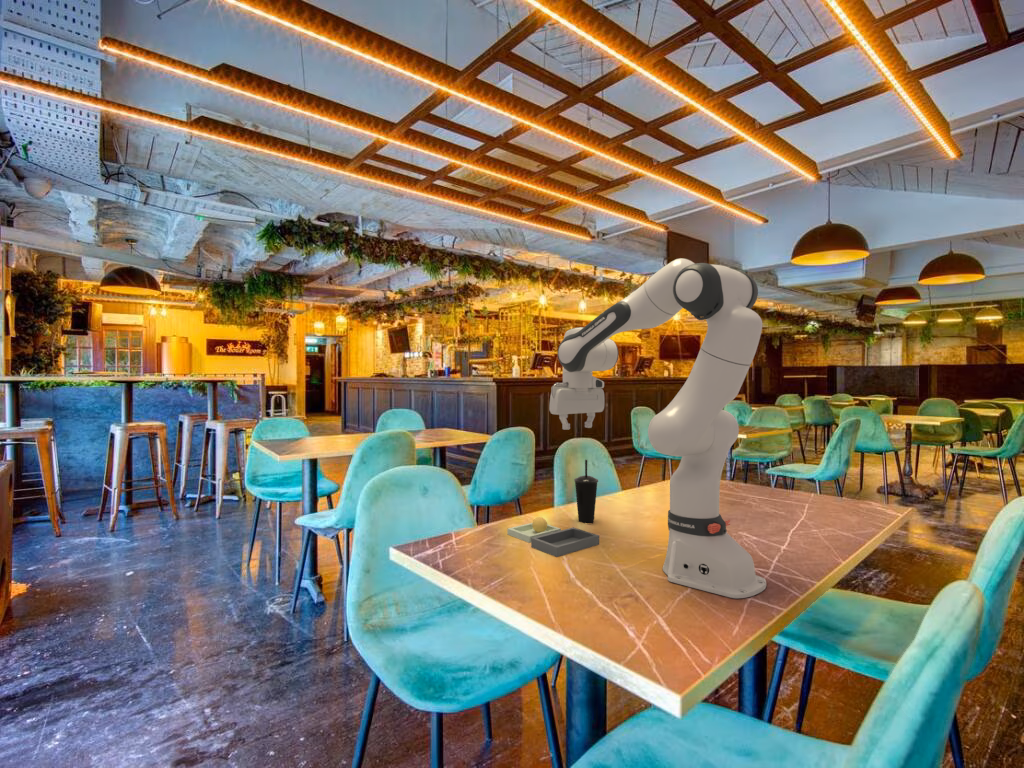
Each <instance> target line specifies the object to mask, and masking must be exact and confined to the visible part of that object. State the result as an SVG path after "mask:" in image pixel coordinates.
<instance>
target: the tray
mask: <svg viewBox="0 0 1024 768" xmlns="http://www.w3.org/2000/svg"><path fill="white" fill-rule="evenodd" d="M532 523H533V522H530V523H524V524H521V525H516V526H512V527H508V528H507V530H506V531H507V535H508V536H511V537H513V538H516V539H519V540H521V541H523V542H526V543H529V544H531V538H534V537H538V536H541V535H545V534H549V533H553V532H557V531H561V530H562V529H561V528H560V527H557V526H554V525H550V524H548V523H547V529H546V530H545V531H544V532H540V533H538V532H536V531H535V530H534V529H533V526H532Z"/></svg>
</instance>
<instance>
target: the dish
mask: <svg viewBox="0 0 1024 768" xmlns="http://www.w3.org/2000/svg"><path fill="white" fill-rule="evenodd" d="M598 545H599V546H600V535H599V534H596V533H592V532H589V531H586V530H582V529H579V528H576V527H573V526H572V527H569V528H565V529H561V531H557V532H553V533H549V534H545V535H541V536H538V537H534V538H531V543H530V547H531V548H532V549H535V550H538V551H540V552H543V553H544V554H545V553H546V554H547V555H551V556H553V557H556V558H559V557H561V556H565V555H568V554H571V553H572V554H573V553H575V552H578V551H582V550H586V549H589V548H591V547H595V546H598Z"/></svg>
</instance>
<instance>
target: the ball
mask: <svg viewBox="0 0 1024 768" xmlns="http://www.w3.org/2000/svg"><path fill="white" fill-rule="evenodd" d="M531 523H532V526H533V529H534V530H535V531H536V532H538V533H540V532H544V531H545V530H546V529H547V524H548V522H547V520H546V519H545V518H544V517H542V516H538V517H536V518H535V519H534V520H533V521H532V522H531Z"/></svg>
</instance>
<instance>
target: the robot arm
mask: <svg viewBox="0 0 1024 768" xmlns="http://www.w3.org/2000/svg"><path fill="white" fill-rule="evenodd" d="M758 297H759V289H758V285H757V282H756V281H755V279H754V278H753V277H752V276H751V275H749V274H748V273H746V272H744V271H743V270H738V269H737V270H736V269H734V268H730V267H728V266H726V265H721V264H713V263H712V264H711V263H707V262H699V263H698V262H697V263H695V262H693V261H692V260H690V259H688V258H681V257H680V258H676V259H674V260H672V261H670V262H669V263H667V264H665V265H664V266H662V268H660V269H659V270H657V271H656V272H655V273H654V274H652V275H651V276H650V277H649V278H648V279H647V280H646V281H645V282H644V283H642V284H641V286H639V287H638V288H636V290H634V291H633V292H632V293H631V294H628V295H627V296H626V297H625V298H622V299H621V300H619V301H617V302H616V303H615V304H613V305H611V306H610V307H608V308H607V309H606V310H604V311H603V312H601V313H600V314H599V315H598V316H596V317H595V318H594V319H592V320H591V321H589V322H588V324H586V325H584V326H578V327H574V328H573V327H572V328H570V329H568V330H567V331H565V333H564V336H563V339H562V341H561V342H560V344H559V346H558V348H557V359H558V361H559V363H560V365H561V366H562V368H563V369H562V382H555V383H554V384H553V385H552V386H551V389H550V390H551V392H550V398H549V406H548V407H549V408H548V409H549V412H550V414H552V415H557V416H559V417H558V418H559V420H560V422H561V424H562V428H561V429H562V430H570V429H571V423H569V422H568V420H567V419H568V417H569V415H573V414H576V415H578V414H586V416H587V419H586V421H584V428H587V429H592V427H593V422H594V419H595V417H596V413H602V412H603V411H604V410H605V392H604V390H603V389H604V387H605V381H603V380H601V379H599V378H597V377H596V376H593V372H604V371H608V370H611V369H613V368H614V367H615V366H616V364H617V363H618V360H619V348H618V345H617V344H616V342H615V341H614V340H613V339H610V338H612V336H615V335H617V334H619V333H623V332H627V331H635V330H645V329H654V328H656V327H659V326H660V325H663V324H665V323H666V322H668V321H669V320H671V319H672V318H674V316H676V314H678V312H680V311H681V310H682V309H684V310H686V312H687V311H688V312H689V313H690V314H691V315H692V316H693V317H694V318H695V319H696V320H698V321H704V320H705V321H706V324H707V330H706V334H705V337H704V339H703V341H702V343H701V346H700V349H699V351H698V354H697V357H696V358H695V359H696V360H695V361H694V364H693V366H692V368H691V371H690V373H689V374H688V377H687V378H686V381H685V382H684V384H683V386H681V388H680V390H679V391H678V392H677V394H675V396H674V398H673V399H672V400H671V401H670V402H669V404H667V406H666V407H664V408H663V409H662V410H661V411H660V412H659V413H657V414H655V415H654V416H653V417H652V418H651V420H650V421H649V425H648V428H647V437H648V440H649V443H650V444H651V445H650V446H651V447H652V448H653V449H654V450H655V451H657V453H660V454H662V455H665V456H672V457H677V458H679V457H681V459H680V462H679V464H678V467H677V469H676V470H675V471H674V472H673V473H672V474H671V477H670V480H669V510H668V511H667V529H668V541H667V542H668V543H667V549H666V554H665V557H664V558H665V559H664V563H663V566H662V571H663V573H664V574H665V575H667V581H668V582H671V583H674V584H678V585H681V586H685V587H689V588H692V589H696V590H700V591H704V592H707V593H712V594H716V595H720V596H723V597H725V598H730V599H745V598H750V597H754V596H755V595H758V594H761V593H762V592H763V591H764V590H766V588H767V580H766V578H764V577H762V576H760V575H757V574H756V570H755V569H756V568H755V567H756V566H755V563H754V559H753V557H752V555H751V554H750V553H749V552H748V551H747V550H746V549H745V548H744V547H743V546H741V545H740V544H739V543H738V542H737V541H736V539H734V538H733V537H732V536H731V535H730V534H729V533H728V530H727V527H728V526H730V525H731V523H730V522H731V520H730V519H729V520H728V519H727V520H724V518H723V517H722V514H721V513H720V487H721V479H722V474H723V470H724V466H725V464H726V463H725V462H726V459H727V456H728V454H729V451H730V449H731V448H732V446H733V445H734V443H736V442H737V439H738V437H739V432H740V427H739V423H738V420H737V419H736V418H735V416H734V415H733V414H732V413H731V412H729V411H727V410H724V408H725V407H726V406H727V405H728V404H730V402H732V401H733V400H734V399H736V397H737V396H738V394H739V392H740V390H741V387H742V386H743V383H744V382H745V379H746V377H747V374H748V372H749V369H750V367H751V365H752V364H753V360H754V359H755V355H756V352H757V350H758V346H759V343H760V339H761V336H762V331H763V320H762V318H761V316H760V315H759V314H758V313H757V312H756V311H755V310H753V309H752V308H753V307H754V306H755V304H756V302H757V299H758Z"/></svg>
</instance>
